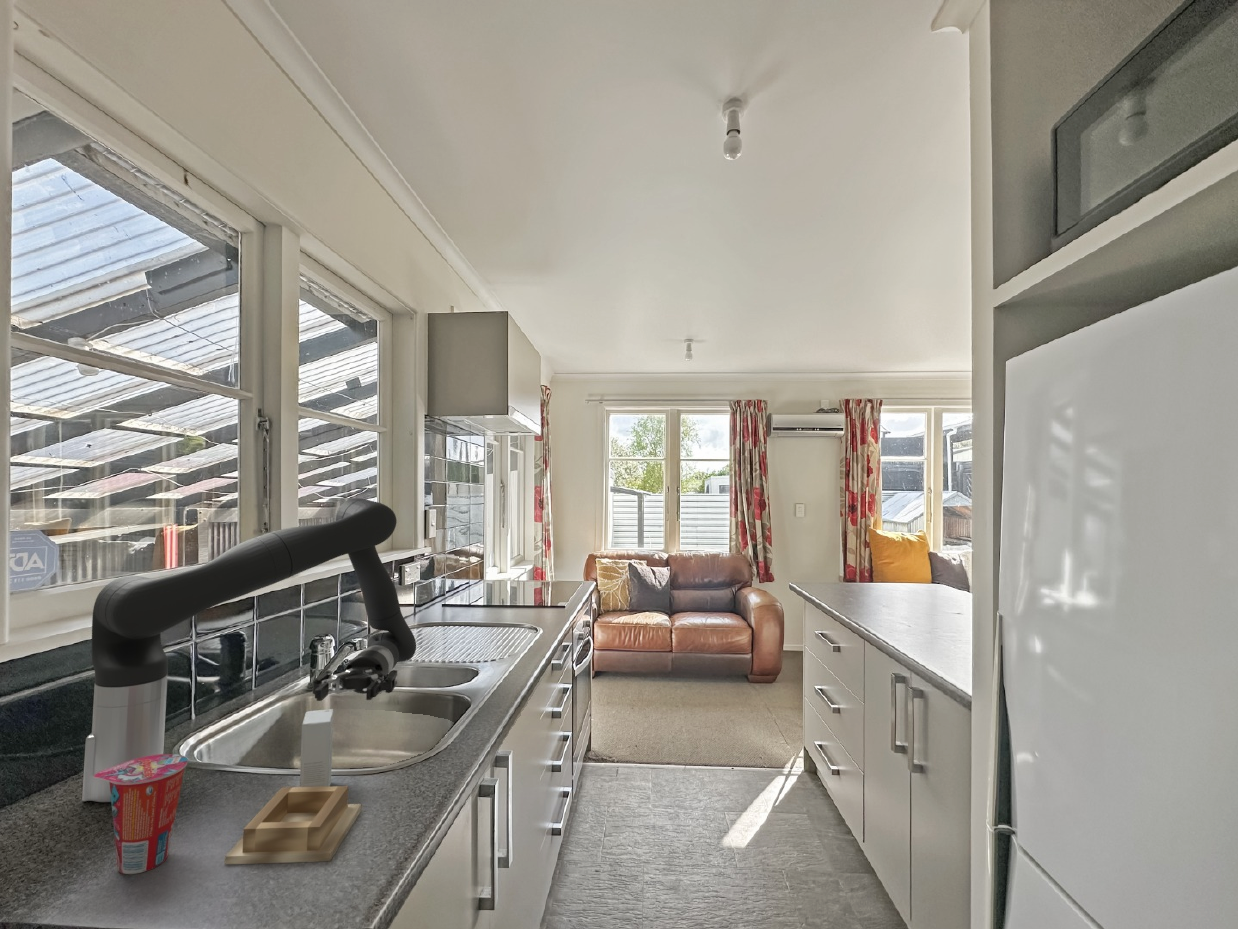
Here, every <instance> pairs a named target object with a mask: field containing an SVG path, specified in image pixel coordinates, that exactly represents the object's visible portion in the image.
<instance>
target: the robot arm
mask: <svg viewBox="0 0 1238 929" xmlns="http://www.w3.org/2000/svg"><path fill="white" fill-rule="evenodd" d="M396 516H397V515H396V513H395V512H394V510H393V509H391V508H390V507H389V506H388V505H385V504H384V503H381V502H378V501H373V500H369V499H365V498H359V497H355V498H349V499H347V500H345V501H344V502H343V503H342V504H341V505H339V507H338V510H337V512H336V515H335V520H334V521H331V522H327V523H326V522H325V523H321V524H311V525H301V526H293V527H288V528H282V529H277V530H274V531H270V532H267V533H264V534H261V535H259V536H255V537H253V538H249V539H247V540H244V541H243V542H241V543H238V544H236V545H234V546H232V547H231V548H228V550H226V551H225V552H222V553H221V554H220V555H218V556H217V557H215V558H214V559H212V560H211V561H208V562H207V563H205V564H202V565H199V566H198V567H195V568H192V569H188V570H185V571H181V572H177V573H175V574H170V575H167V576H162V577H158V578H149V577H145V576H139V575H129V576H122V577H119V578H116V579H114V580H112V581H110V582H109V583H108V584H106V585H105V586H104V587H103V588H102V589H101V590H100V591H99V593H98V594H97V596H96V598H95V600H94V604H93V609H92V619H91V620H92V621H91V663H92V667H93V670H94V691H93V692H94V693H93V706H92V708H93V709H92V726H91V733H89V735H87V737H85V746H84V763H83V781H82V783H83V784H82V795H81V796H82V797H81V801H82V802H87V801H90V802H91V801H92V802H97V803H111V793H110V783H109V781H107V780H104V779H100V778H96V777H93V776H94V775H95V774H97V773H98V772H100V771H103V770H105V769H108V768H111V767H113V766H116V765H119V764H122V763H125V762H127V761H131V760H134V759H137V758H141V757H146V756H152V755H159V754H164V749H165V748H164V746H165V745H164V744H165V729H166V728H165V727H166V709H167V692H168V672H169V671H168V668H169V659H168V656H167V654H166V653H165V651H164V648H163V644H162V640H161V639H162V638H161V637H162V636H161V633H164V632H165V631H168V630H170V629H171V628H173V627H175V626H177V625H179V624H182V623H183V622H184V621H187V620H188V619H190V618H192V617H194V616H197V615H199V614H200V613H203V612H205V611H207V610H208V609H211V608H212V607H215V606H218V605H220V604H222V603H225V602H229V601H232V600H234V599H237V598H240V597H242V596H245V595H248V594H251V593H252V592H255V591H258V590H261V589H263V588H266V587H270V586H272V585H274V584H277V583H279V582H282V581H284V580H287V579H289V578H291V577H294V576H295V575H298V574H300V573H303V572H305V571H308V570H310V569H312V568H315V567H318V566H320V565H322V564H324V563H327V562H329V561H331V560H333V559H336V558H338V557H341V556H345V555H347V556H348V557H349V559H350V560H349V561H350V562H351V565H352V568H353V569H354V572H355V576H356V578H357V581H358V584H359V587H360V592H361V594H362V598H363V604H364V608H365V610H366V615H367V616H366V617H367V622H368V624H369V626H370V627H371V628H372V629H374V630H377V631H384V632H379V633H374V634H373V635H371V636H370V637H369V638H368V640H367V646H366V648H364V649H362V650H361V651H360V652H359V653H358V654H356V656H355V657H353V659H351V660H350V661H349V663H347V665H346V667H345V669H344V671H342V672H339V673H335V674H333V675H332V673H331V672H332V671H329V670H326V671H324V672H323V673H320V674H319V675H318V676H316V677H315V678H314V679H312V694H313V695H314V699H316V701H317V702H321V701H323V700H324V699H325V698H326V697H327V696H328V695H330V694H335V695H340V694H342V693H346V692H355V693H356V694H361V695H364V694H366V698H365V699H366V701H371V700H373V698H375V697H377V696H378V695H380V694H381V693H382V692H384V691H385V693H387V694H390V693H392V692H393V691H394V690H395V688H396V686H397V685H398V670H395V669H394V668H395V667H396V665H397V664H398V663H400V662H401V663H402V662H407V661H410V660H411V659H412V658H413V657H414V655H415V653H416V652H417V651H416V650H417V641H416V637H415V636H414V633H413V631H412V629H411V628H410V627H409V625H408V624H407V622H406V620H405V618H404V616H403V613H402V610H401V606H400V602H399V597H398V591H397V589H396V586H395V584H394V582H393V580H392V578H391V575H390V574H389V572H388V571H387V569H386V567H385V565H384V564H383V562H382V560H381V558H380V555H379V554H378V551H377V547H376V546H378V545H381V544H382V543H384V542H386V541H387V540H388V539H389V538H390V537H391V536H392V535H393V533H394V531H395V530H396V526H397V522H398V520H397V517H396Z"/></svg>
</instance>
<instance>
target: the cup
mask: <svg viewBox="0 0 1238 929" xmlns="http://www.w3.org/2000/svg"><path fill="white" fill-rule="evenodd" d="M188 762H189V759H188V757H187V756H185V755H183V754H182V755H181V754H176V753H175V754H174V753H163V754H159V755H152V756H146V757H141V758H137V759H134V760H131V761H127V762H125V763H122V764H119V765H116V766H113V767H111V768H108V769H105V770H103V771H100V772H98V773H97V774H95V775H94V776H93V777H96V778H100V779H104V780H107V781H109V783H110V793H111V802H110V803H111V813H112V824H113V826H112V827H113V833H114V834H113V835H114V844H115V845H114V846H115V854H116V864H117V871H118V872H119V873H120V874H123V875H134V874H140V873H143V872H147V871H151V870H153V869H154V868H157V867H159V866H160V865H162V864H163V863H164V862H165V861H166V860H167V858H168V856H169V854H168V853H169V849H170V845H171V839H172V834H173V829H174V824H175V821H176V814H177V808H178V804H179V799H180V792H181V787H182V783H183V778H184V773H185V768H186V767H187V765H188Z"/></svg>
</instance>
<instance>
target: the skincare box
mask: <svg viewBox="0 0 1238 929" xmlns="http://www.w3.org/2000/svg"><path fill="white" fill-rule="evenodd" d="M333 732H334V709H333V708H331V709H320V710H310V711H309V710H308V711H306V712H305V714H304V718H303V721H302V724H301V743H300V744H301V746H300V747H301V748H300V772H299V773H300V774H299V777H300V778H299V787H331V782H332V764H333V761H332V760H333V738H334V737H333V736H334V735H333V734H334V733H333Z"/></svg>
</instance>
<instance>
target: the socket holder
mask: <svg viewBox="0 0 1238 929" xmlns="http://www.w3.org/2000/svg"><path fill="white" fill-rule="evenodd" d="M361 812H362V803H350V804H349V785H341V786H339V785H338V786H331V785H330V787H300V786H296V787H295V786H294V787H293V786H292V787H288V786H287V787H286V786H285V787H281V788H280V789H279V790H277V792H276V793H275V794H274V795H273V796H272V798H270V800H269V801H268V802H267V803H266V804H265V805H264V806H263V807H262V808H261V809H260V811H259V812H258V813H256V814H255V816H254V817H253V818H252V819H251V821H250V822H248V823H247V824H246V826H244V828H243V834H242V835H243V836H242V837H241V838H240V839H239V840H238V842H237V843H236V844H235V845H234V846H233V847H232V848H231V850H230V851H228V853H227V854H226V855H225V857H224V865H248V864H249V865H251V864H253V865H254V864H279V863H304V862H305V863H309V862H312V863H313V862H331V860H333V857H334V856H335V854H336V853H337V851H338V849H339V848H340V846H341V844H342V842H343V841H344V840H345V838H346V836H347V835H348V833H349V831H350V829H351V828H352V826H353V824H354V823H355V821H356V819H357V818H358V816H359V814H360V813H361Z"/></svg>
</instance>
